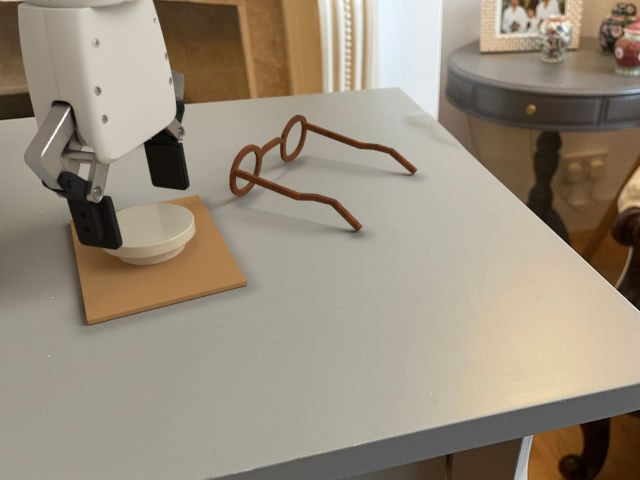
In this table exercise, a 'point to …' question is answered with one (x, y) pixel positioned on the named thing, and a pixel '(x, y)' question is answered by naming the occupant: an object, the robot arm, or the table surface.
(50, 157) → the robot arm
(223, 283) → the mat
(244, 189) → the glasses
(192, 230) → the top plate
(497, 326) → the table surface
